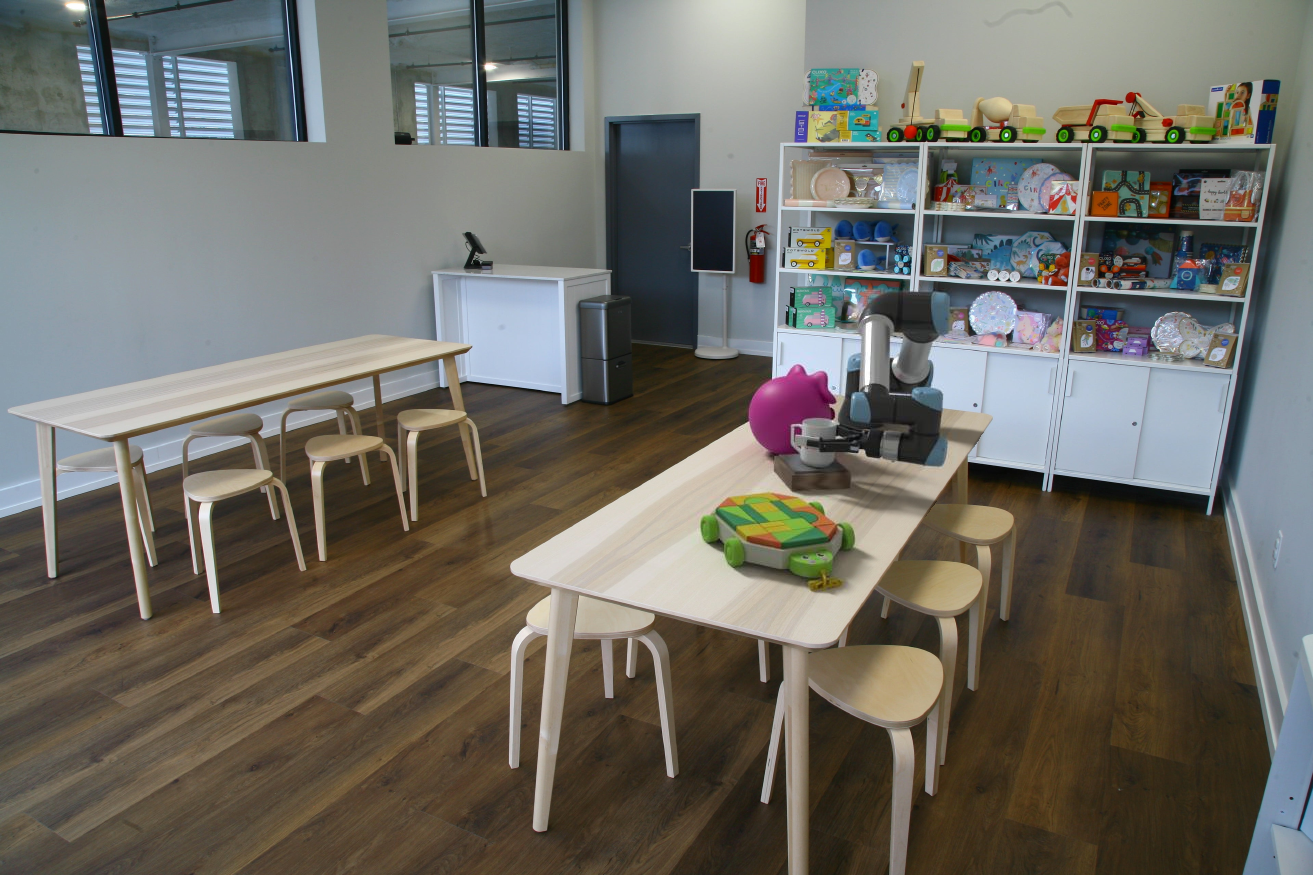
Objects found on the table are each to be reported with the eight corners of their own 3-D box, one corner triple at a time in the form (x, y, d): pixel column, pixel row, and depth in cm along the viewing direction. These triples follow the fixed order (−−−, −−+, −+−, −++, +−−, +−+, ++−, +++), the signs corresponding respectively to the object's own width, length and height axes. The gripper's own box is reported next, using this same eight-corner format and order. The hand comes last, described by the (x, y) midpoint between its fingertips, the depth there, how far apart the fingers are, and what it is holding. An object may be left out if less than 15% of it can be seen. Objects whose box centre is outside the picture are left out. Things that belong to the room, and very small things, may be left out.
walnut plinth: (828, 468, 238) (830, 451, 237) (850, 488, 223) (851, 470, 221) (773, 470, 236) (774, 453, 234) (791, 491, 220) (792, 472, 219)
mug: (837, 460, 229) (840, 420, 226) (828, 470, 221) (831, 429, 218) (794, 453, 234) (797, 414, 231) (784, 462, 227) (786, 422, 223)
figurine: (846, 457, 248) (853, 373, 240) (782, 471, 236) (787, 383, 228) (794, 437, 267) (798, 358, 259) (732, 448, 255) (735, 367, 247)
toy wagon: (764, 602, 163) (766, 567, 161) (690, 529, 197) (690, 499, 195) (893, 580, 173) (896, 546, 171) (801, 513, 207) (803, 485, 204)
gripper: (871, 472, 208) (787, 459, 217) (891, 445, 230) (815, 434, 239) (873, 443, 206) (789, 431, 215) (894, 418, 228) (816, 409, 236)
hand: (802, 433), depth 227 cm, fingers open, 13 cm apart
